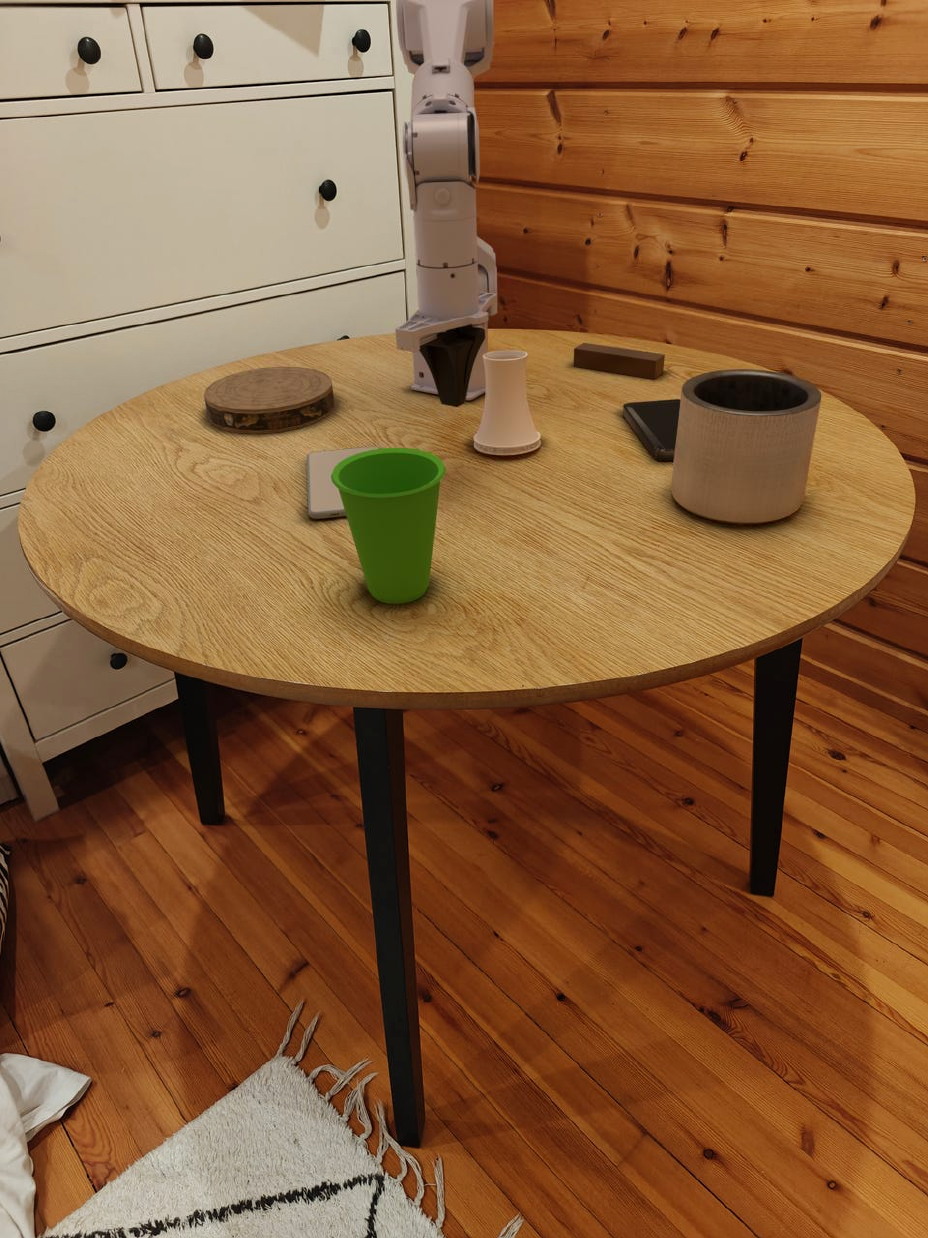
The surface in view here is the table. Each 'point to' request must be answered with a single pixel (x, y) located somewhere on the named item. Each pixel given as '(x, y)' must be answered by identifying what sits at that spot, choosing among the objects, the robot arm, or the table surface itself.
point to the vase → (506, 407)
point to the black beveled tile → (655, 425)
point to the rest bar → (619, 360)
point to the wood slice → (269, 399)
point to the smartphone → (326, 481)
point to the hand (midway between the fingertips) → (452, 403)
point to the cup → (392, 517)
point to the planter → (744, 445)
